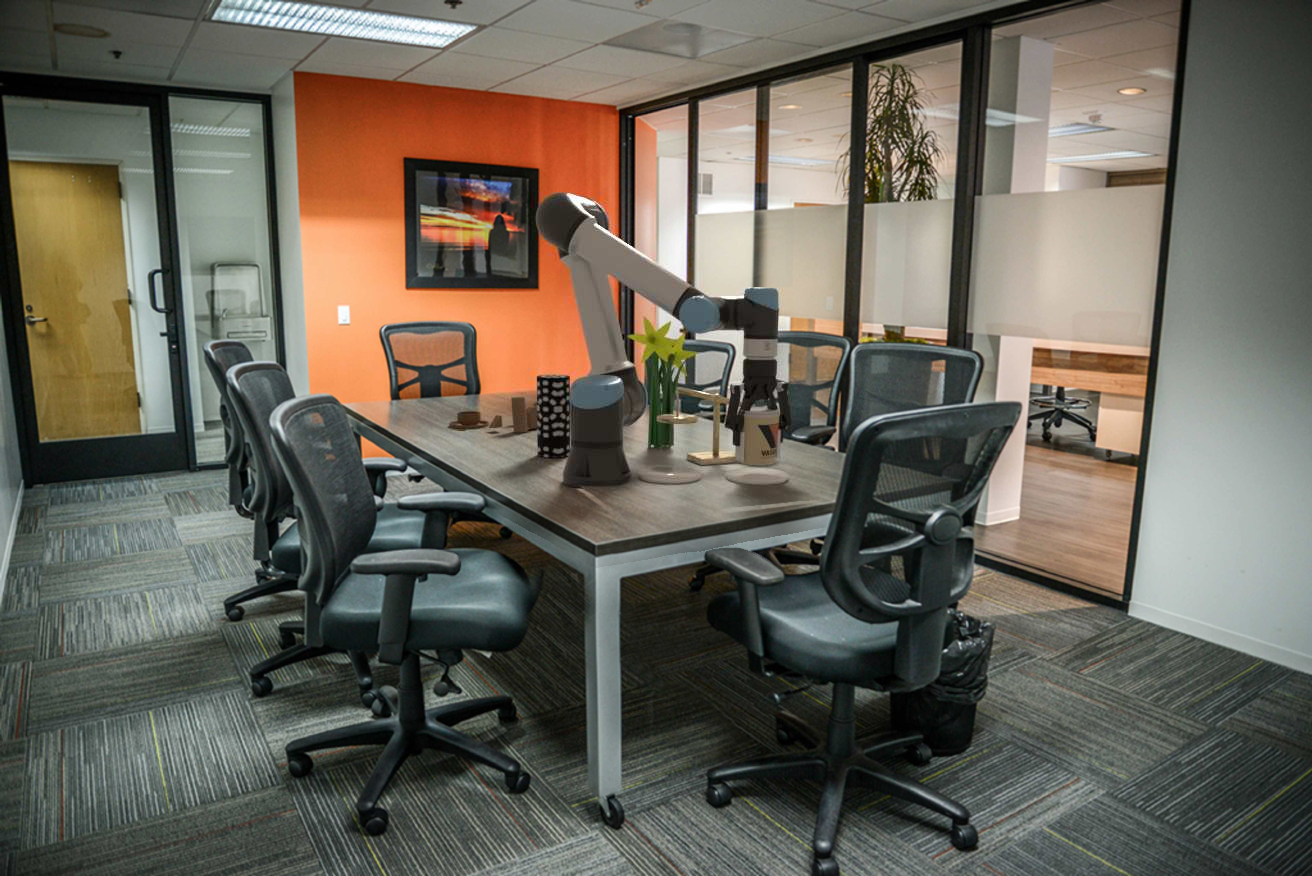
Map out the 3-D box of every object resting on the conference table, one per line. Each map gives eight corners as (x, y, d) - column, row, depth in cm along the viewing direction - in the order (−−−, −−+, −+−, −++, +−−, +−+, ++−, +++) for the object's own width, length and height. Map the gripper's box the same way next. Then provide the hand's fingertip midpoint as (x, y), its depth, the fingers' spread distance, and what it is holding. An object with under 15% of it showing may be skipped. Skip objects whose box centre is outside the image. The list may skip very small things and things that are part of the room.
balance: (666, 468, 211) (667, 389, 208) (649, 461, 220) (650, 385, 217) (780, 459, 224) (782, 385, 221) (760, 453, 233) (762, 381, 230)
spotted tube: (531, 455, 226) (530, 377, 222) (547, 450, 233) (546, 374, 230) (560, 458, 223) (560, 378, 219) (575, 453, 230) (575, 375, 227)
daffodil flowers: (665, 441, 250) (666, 315, 244) (703, 448, 240) (705, 316, 234) (619, 447, 239) (620, 315, 233) (657, 455, 228) (659, 317, 222)
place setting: (468, 423, 283) (468, 404, 282) (524, 427, 276) (524, 408, 275) (436, 430, 267) (435, 411, 266) (494, 435, 260) (494, 415, 259)
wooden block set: (540, 426, 274) (537, 393, 273) (556, 428, 267) (553, 394, 266) (488, 433, 262) (485, 398, 261) (504, 435, 256) (501, 399, 254)
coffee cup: (765, 467, 195) (766, 413, 193) (728, 462, 200) (729, 409, 198) (786, 461, 202) (787, 408, 200) (750, 456, 208) (751, 405, 206)
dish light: (653, 485, 193) (653, 481, 193) (629, 473, 205) (629, 469, 205) (711, 480, 198) (711, 476, 198) (684, 469, 211) (684, 464, 211)
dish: (744, 486, 193) (744, 482, 193) (714, 474, 205) (714, 470, 205) (799, 481, 198) (800, 477, 198) (767, 470, 211) (767, 465, 211)
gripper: (725, 360, 190) (723, 465, 193) (810, 358, 198) (806, 458, 202) (709, 358, 197) (707, 459, 200) (792, 355, 205) (789, 452, 209)
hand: (757, 458), depth 201 cm, fingers closed on coffee cup, 8 cm apart
